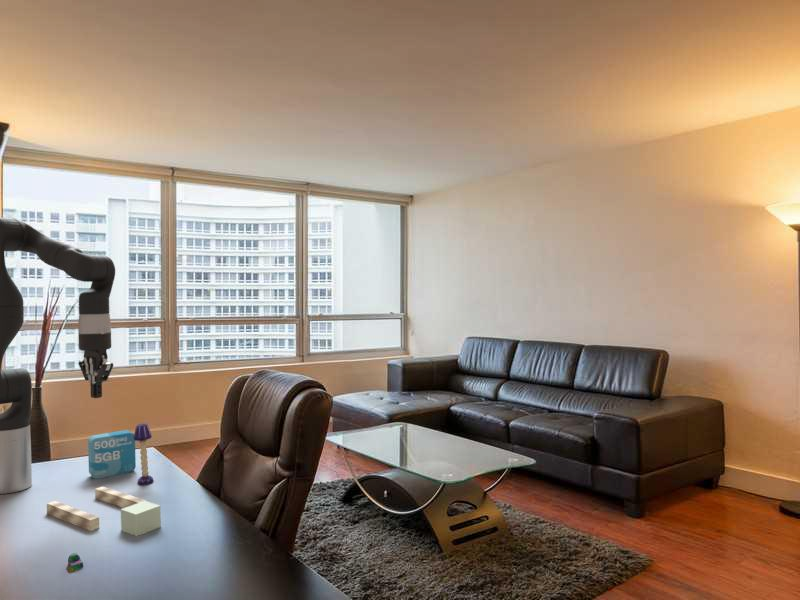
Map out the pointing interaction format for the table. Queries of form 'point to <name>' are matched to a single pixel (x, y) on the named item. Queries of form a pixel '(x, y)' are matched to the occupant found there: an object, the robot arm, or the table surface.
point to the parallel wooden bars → (85, 518)
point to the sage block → (140, 518)
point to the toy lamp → (143, 452)
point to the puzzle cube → (74, 563)
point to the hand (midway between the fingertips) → (96, 397)
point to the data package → (111, 454)
